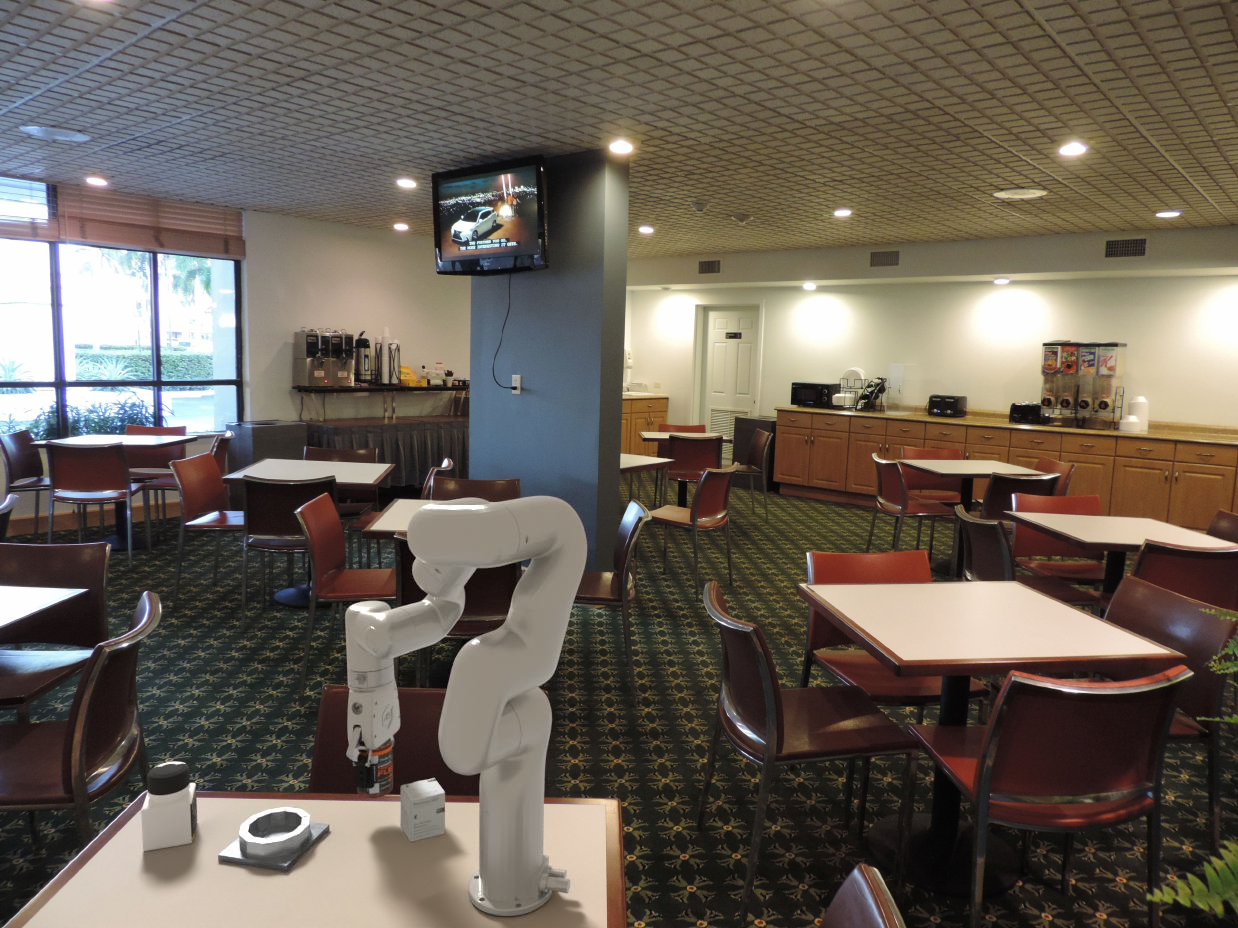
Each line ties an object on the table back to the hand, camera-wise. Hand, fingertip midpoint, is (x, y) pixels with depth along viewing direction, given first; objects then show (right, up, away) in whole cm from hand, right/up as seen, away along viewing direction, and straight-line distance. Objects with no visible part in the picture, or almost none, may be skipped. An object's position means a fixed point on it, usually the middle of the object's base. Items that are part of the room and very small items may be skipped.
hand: (375, 776), depth 140 cm
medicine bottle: (-32, -8, -5) cm, 34 cm away
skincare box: (+9, -9, -2) cm, 12 cm away
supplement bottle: (0, -3, 0) cm, 3 cm away
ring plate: (-14, -8, -7) cm, 18 cm away
